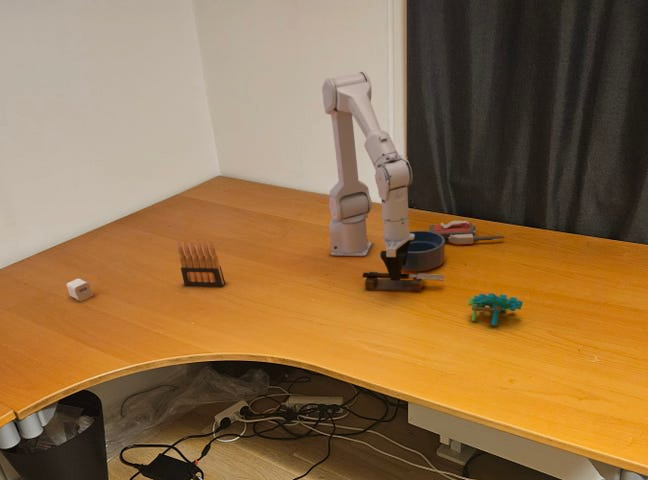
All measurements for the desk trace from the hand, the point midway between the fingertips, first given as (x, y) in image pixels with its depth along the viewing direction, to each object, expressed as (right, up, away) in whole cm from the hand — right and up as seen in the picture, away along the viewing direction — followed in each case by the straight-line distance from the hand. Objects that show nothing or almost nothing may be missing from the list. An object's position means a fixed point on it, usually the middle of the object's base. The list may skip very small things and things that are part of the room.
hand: (398, 272), depth 143 cm
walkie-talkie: (+19, +12, +20) cm, 31 cm away
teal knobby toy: (+19, -12, -13) cm, 26 cm away
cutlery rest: (-1, -3, +2) cm, 4 cm away
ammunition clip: (-48, -1, +14) cm, 50 cm away
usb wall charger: (-81, -4, +16) cm, 82 cm away
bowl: (+6, +4, +12) cm, 14 cm away
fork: (+2, -1, 0) cm, 2 cm away
